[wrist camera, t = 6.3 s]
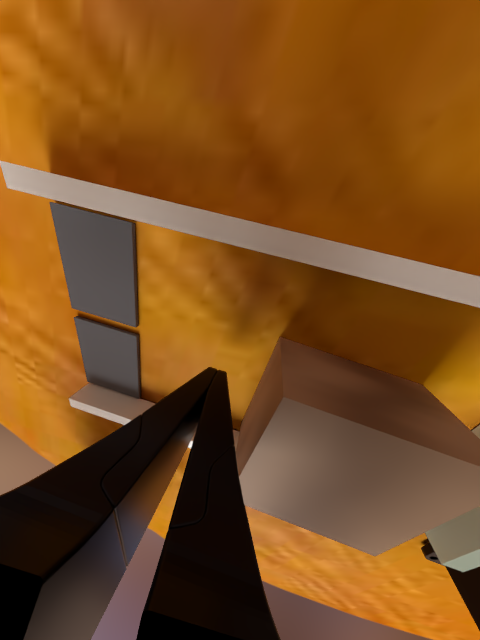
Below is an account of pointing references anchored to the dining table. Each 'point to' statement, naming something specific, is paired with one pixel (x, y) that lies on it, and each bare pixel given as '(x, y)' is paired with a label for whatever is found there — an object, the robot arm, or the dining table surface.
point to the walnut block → (353, 451)
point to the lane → (446, 539)
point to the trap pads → (102, 293)
